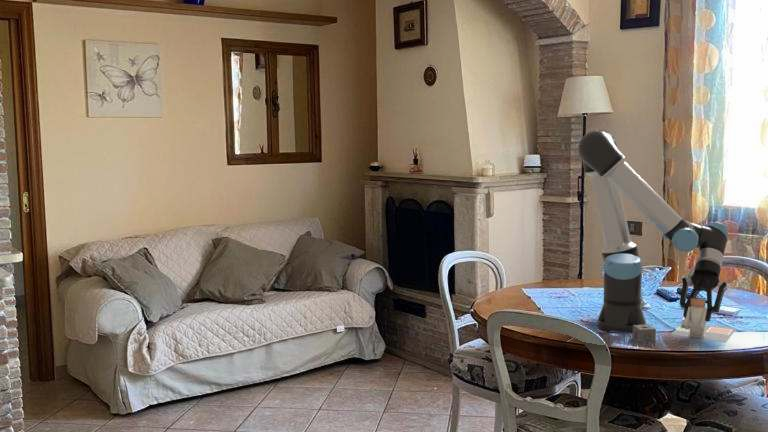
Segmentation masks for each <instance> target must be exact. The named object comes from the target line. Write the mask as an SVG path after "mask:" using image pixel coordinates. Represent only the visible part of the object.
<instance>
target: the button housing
mask: <svg viewBox="0 0 768 432" xmlns="http://www.w3.org/2000/svg"><path fill="white" fill-rule="evenodd" d="M685 319H686V318H684V317H683V318H681V320H680V321H681V322H680V323H681V324H680V325H681V326H684V324H685ZM684 327H685V326H684ZM689 327H690V323H689Z"/></svg>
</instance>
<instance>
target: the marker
mask: <svg viewBox="0 0 768 432" xmlns="http://www.w3.org/2000/svg"><path fill="white" fill-rule="evenodd" d="M704 309H706V299H705V298H703V297H696V298H691V314H690V334H691V335H695V336H702V335H704V332H702V331H701V328H700V325H701V321H702V317H703V312H704Z"/></svg>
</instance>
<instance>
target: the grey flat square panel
mask: <svg viewBox="0 0 768 432" xmlns="http://www.w3.org/2000/svg"><path fill="white" fill-rule="evenodd" d="M736 330H737V328H734V327H727V326H720V325H711V324H706V325H705V329H704V335H702V336H695V335H691V334H690V327H689V328H688V329H685V327H684V326H681V324H680V325H679V326H677V327H676V328H675V330H673V331H672V332H671V333H670V335H671V336H677V337H685V338H692V339H699V340H705V341H706V340H707V341H713V342H717V343H718V342H719V343H726V344H727V341H729V339H730V338H731V337H732V335H733V334H734V333H735V332H736Z"/></svg>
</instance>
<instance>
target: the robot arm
mask: <svg viewBox="0 0 768 432" xmlns="http://www.w3.org/2000/svg"><path fill="white" fill-rule="evenodd" d="M577 145H578V146H577V154H578V156H579V158H580V159H581V161H582V166H583V170H584V174H585V175H587V176H588V177H589V178H590V181H591V186H592V190H593V194H594V199H595V205H596V208H597V209H596V210H597V214H598V219H599V224H600V228H601V233H602V238H603V242H604V247H602V250H601V255H602V260H603V303H602V307H601V308H600V311H599V315H598V317H597V327H598V329H600V330H602V331H605V332H608V333H615V334H616V333H620V332H621V333H633V325H647V321H646V318H645V315H644V311H643V309H642V281H643V280H642V279H643V277H642V275H643V273H642V271H643V264H642V263H643V262H642V259H641V258H640V256H639V255H640V254H639V251H638V250H639V249H638V245H637V243H634V242H633V241H632V240H631V236H630V230H629V226H628V220H627V216H626V212H625V206H624V201H623V197H622V195H624V197H626V198H627V199H628V201H630V202H631V204H632V205H634V206H635V208H637V210H639V211H640V212H641V214H643V215H644V216H645V218H647V220H649V221H650V222H651V224H653V226H655V227H656V228H657V229H658V230H659V231H660V232H661V234H662V238H664V239H666V240H668V241H670V242H671V244H672V245H673V247H674V248H675V249H677V251H679V252H682V253H689V252H691V251H693V250H695V249H699V250H698V254H697V257H696V262H695V267H694V271H693V274H692V275H691V276H690V277H689V278H686V277H682V279H681V281H682V287H681V293H680V297H679V306H680V308H681V309H683V315H682V316H683V318H686V319H685V324H684V326H685V329H688V328H689V323H690V314H691V298H698V295H699V294H700V292H706V308H705V309H704V312H703V317H702V321H701V325H700V328H701V331H702V332H704V329H705V325H707V324H706V323H707V322H708V323H709V322H710V321H711V318H712V314H713V313H719V311H720V308H721V305H722V301H723V298H724V294H725V292H726V290H728V286H727V285H728V284H727V282H725V281H723V282H722V281H720V274H721V271H722V269H721V268H722V265H723V261H724V256H725V251H726V247H727V244H728V237H729V227H728V226H727V225H725V224H724V223H722V222H718V221H715V222H714V221H710V222H707V223H706V224H705V225H699V224H697V223H693V222H691V221H687V220H685V219H684V218H682V217H681V216H680V214H678V212H677V211H676V210H674V209H673V208H672V206H670V204H668V202H666V200H665V199H664V198H663V197H661V196H660V195H659V193H658V192H656V191H655V190H654V188H652V187H651V186H650V185H649V183H647V182H646V181H645V180H644V178H642V177H641V176H640V175H639V174H638V173H637V171H635V170H634V168H632V167H631V166H630V165H629V163H627V162H626V156H625V155H624V154H623V153H622V152H621V151H620V149H619V148H618V146H617V141H616V139H615V137H614V135H612V134H611V133H610V132H608V131H606V130H604V129H593V130H590V131H588V132H587V133H585V134H584V135H583V136H582V137H581V138H580V140H579V141H578V144H577ZM691 283H692V285H693V287H692V290H691V292H690V294H689V296H688V292H689V286H690V285H691ZM716 287H717V293H716V297H715V301H714V306H713V296H712V295H713V290H714V289H715V288H716ZM687 297H688V298H687Z"/></svg>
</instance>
